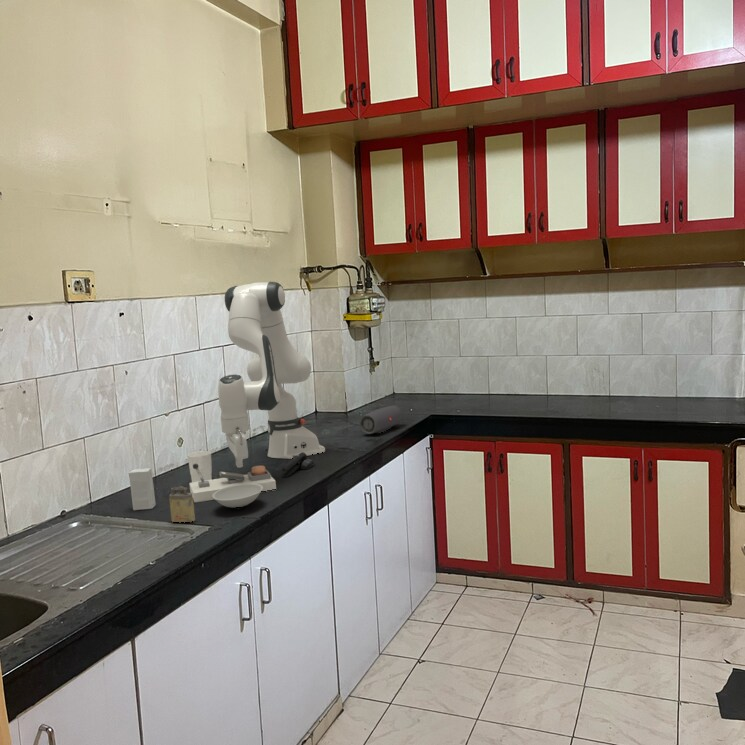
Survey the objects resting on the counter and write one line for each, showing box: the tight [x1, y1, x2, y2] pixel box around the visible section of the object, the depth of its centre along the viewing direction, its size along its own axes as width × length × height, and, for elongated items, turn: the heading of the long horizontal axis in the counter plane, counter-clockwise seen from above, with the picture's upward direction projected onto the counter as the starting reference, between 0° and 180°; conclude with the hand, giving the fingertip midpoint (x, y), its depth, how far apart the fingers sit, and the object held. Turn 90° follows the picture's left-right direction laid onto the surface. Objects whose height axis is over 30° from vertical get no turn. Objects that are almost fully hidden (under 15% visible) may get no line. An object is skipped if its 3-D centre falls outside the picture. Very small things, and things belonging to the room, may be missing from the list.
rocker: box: [218, 470, 245, 480], centre depth 242 cm, size 8×4×1 cm, turn 109°
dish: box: [212, 483, 263, 509], centre depth 223 cm, size 18×14×5 cm
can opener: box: [281, 452, 314, 478], centre depth 263 cm, size 18×7×6 cm, turn 157°
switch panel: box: [189, 469, 277, 503], centre depth 243 cm, size 26×14×5 cm, turn 109°
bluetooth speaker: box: [358, 405, 403, 435], centre depth 322 cm, size 23×9×10 cm, turn 148°
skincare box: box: [128, 467, 156, 511], centre depth 230 cm, size 6×4×12 cm
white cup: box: [187, 450, 213, 483], centre depth 257 cm, size 8×8×10 cm
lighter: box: [168, 485, 196, 524], centre depth 213 cm, size 7×4×10 cm, turn 77°
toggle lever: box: [193, 464, 204, 482], centre depth 239 cm, size 2×2×7 cm
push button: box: [251, 465, 266, 476], centre depth 245 cm, size 4×4×2 cm
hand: (239, 466), depth 243 cm, fingers closed
